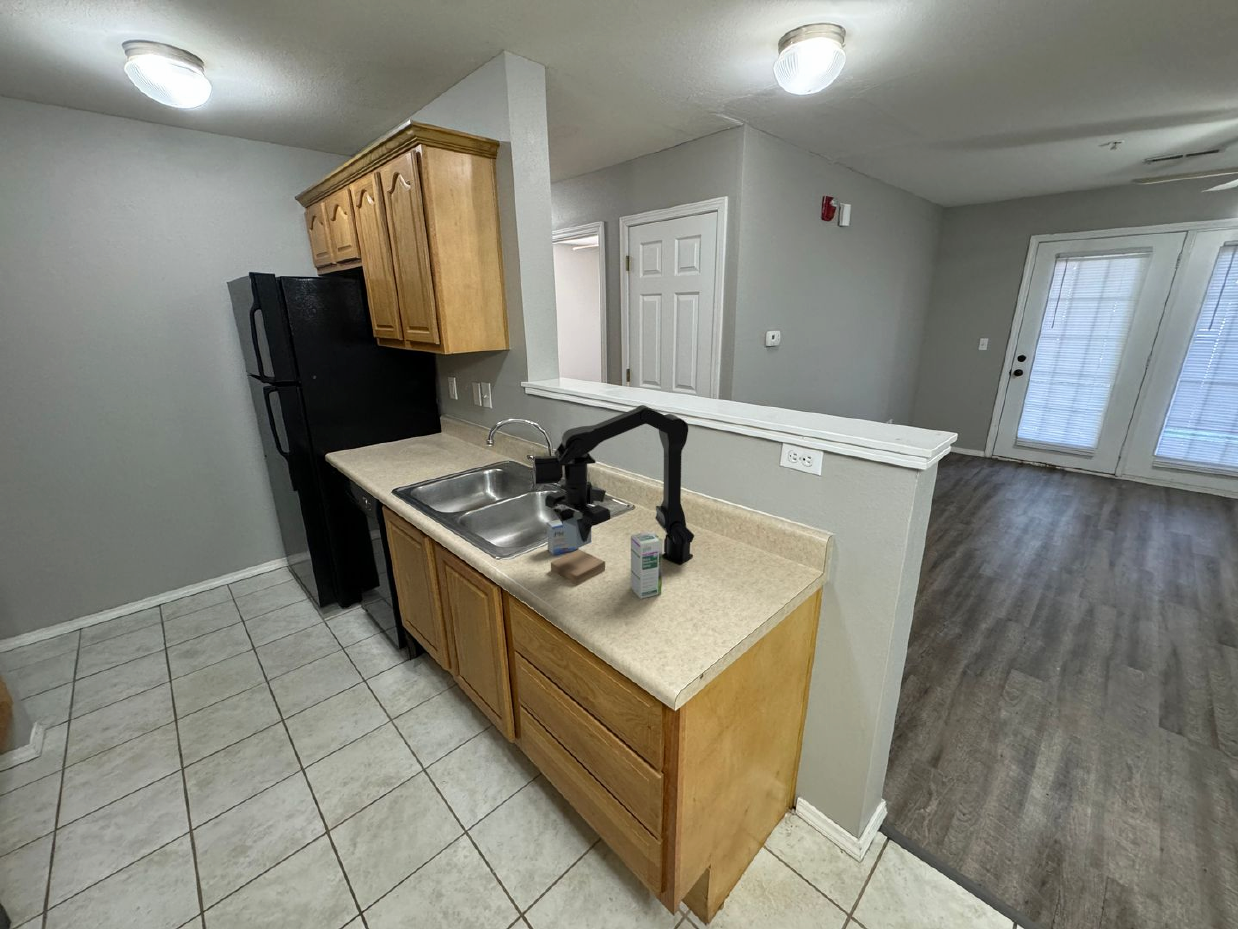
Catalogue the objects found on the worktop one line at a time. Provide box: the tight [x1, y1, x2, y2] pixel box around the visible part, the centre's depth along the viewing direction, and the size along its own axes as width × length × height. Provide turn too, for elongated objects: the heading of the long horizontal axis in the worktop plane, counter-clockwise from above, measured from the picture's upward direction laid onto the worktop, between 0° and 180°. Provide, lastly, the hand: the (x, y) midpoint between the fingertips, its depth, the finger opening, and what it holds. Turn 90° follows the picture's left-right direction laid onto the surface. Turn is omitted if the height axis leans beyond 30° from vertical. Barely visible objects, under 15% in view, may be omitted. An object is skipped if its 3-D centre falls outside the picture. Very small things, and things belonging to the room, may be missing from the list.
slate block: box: [563, 515, 592, 550], centre depth 128 cm, size 5×5×6 cm
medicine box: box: [546, 519, 580, 556], centre depth 141 cm, size 8×4×9 cm, turn 117°
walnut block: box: [550, 549, 606, 586], centre depth 131 cm, size 10×10×3 cm
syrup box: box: [630, 530, 663, 600], centre depth 120 cm, size 6×6×14 cm
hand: (577, 538), depth 129 cm, fingers closed on slate block, 5 cm apart
